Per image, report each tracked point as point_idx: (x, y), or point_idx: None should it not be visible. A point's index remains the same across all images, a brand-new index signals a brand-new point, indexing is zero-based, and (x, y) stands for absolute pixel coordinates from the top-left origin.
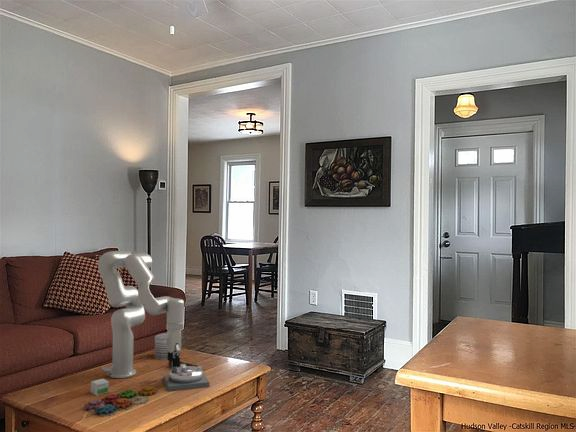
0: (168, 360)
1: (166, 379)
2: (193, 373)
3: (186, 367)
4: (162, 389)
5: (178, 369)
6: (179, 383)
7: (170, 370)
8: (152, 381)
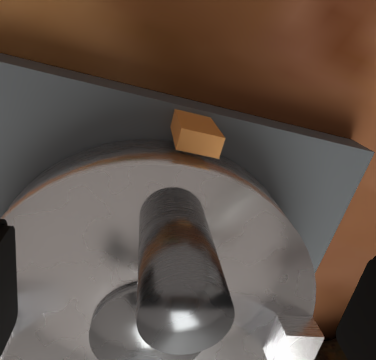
0: (369, 261)
1: (196, 114)
2: (30, 357)
3: (254, 351)
4: (64, 13)
5: (243, 281)
6: (20, 185)
7: (267, 204)
8: (349, 16)
